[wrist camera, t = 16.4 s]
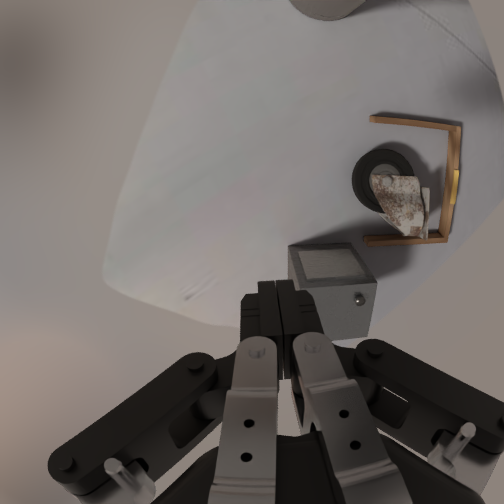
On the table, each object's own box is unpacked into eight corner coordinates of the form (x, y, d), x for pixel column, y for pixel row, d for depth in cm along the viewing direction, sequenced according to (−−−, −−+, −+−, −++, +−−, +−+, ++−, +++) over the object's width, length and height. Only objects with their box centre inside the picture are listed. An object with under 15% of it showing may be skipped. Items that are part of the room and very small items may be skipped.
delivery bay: (369, 115, 36) (376, 116, 34) (453, 125, 36) (462, 127, 34) (363, 240, 44) (368, 247, 42) (440, 237, 44) (448, 243, 42)
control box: (288, 243, 44) (300, 289, 33) (350, 240, 44) (379, 283, 33) (287, 296, 48) (298, 348, 37) (345, 292, 48) (368, 341, 37)
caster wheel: (348, 150, 41) (415, 153, 39) (348, 231, 43) (413, 231, 42) (357, 146, 34) (433, 151, 33) (357, 240, 37) (431, 241, 36)
